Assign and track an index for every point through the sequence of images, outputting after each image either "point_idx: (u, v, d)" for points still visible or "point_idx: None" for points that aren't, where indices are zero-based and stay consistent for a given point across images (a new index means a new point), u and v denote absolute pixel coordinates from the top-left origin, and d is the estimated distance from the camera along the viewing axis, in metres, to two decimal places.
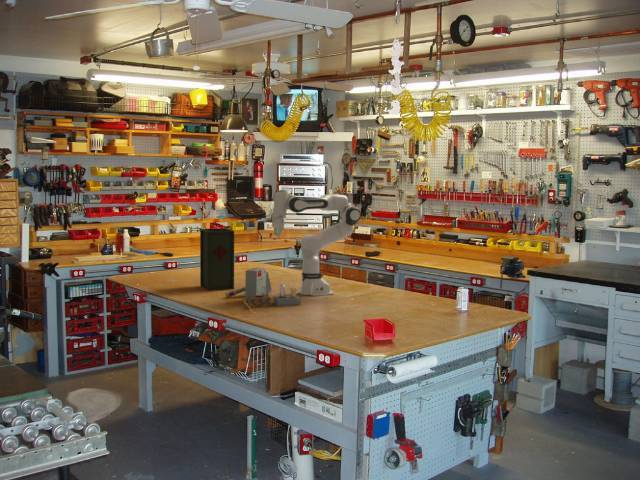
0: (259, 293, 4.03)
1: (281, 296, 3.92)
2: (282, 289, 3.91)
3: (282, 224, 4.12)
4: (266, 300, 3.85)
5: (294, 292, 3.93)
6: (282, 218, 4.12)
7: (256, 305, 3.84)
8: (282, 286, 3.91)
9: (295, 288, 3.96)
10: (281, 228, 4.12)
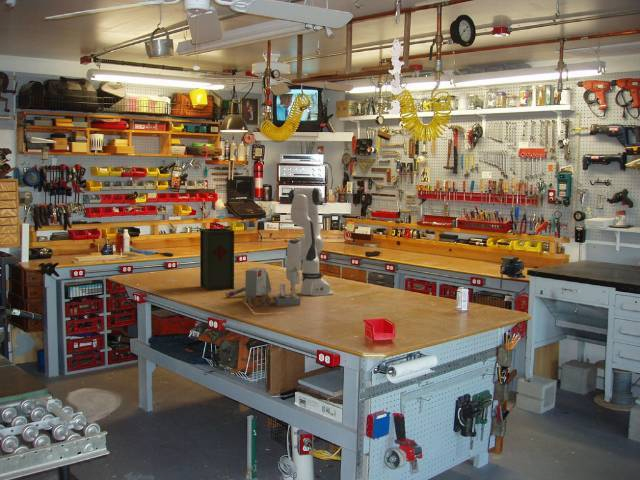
0: (259, 293, 4.03)
1: (281, 296, 3.92)
2: (282, 289, 3.91)
3: (298, 278, 3.84)
4: (266, 300, 3.85)
5: (294, 292, 3.93)
6: (297, 271, 3.83)
7: (256, 305, 3.84)
8: (282, 286, 3.91)
9: None
10: (297, 282, 3.84)
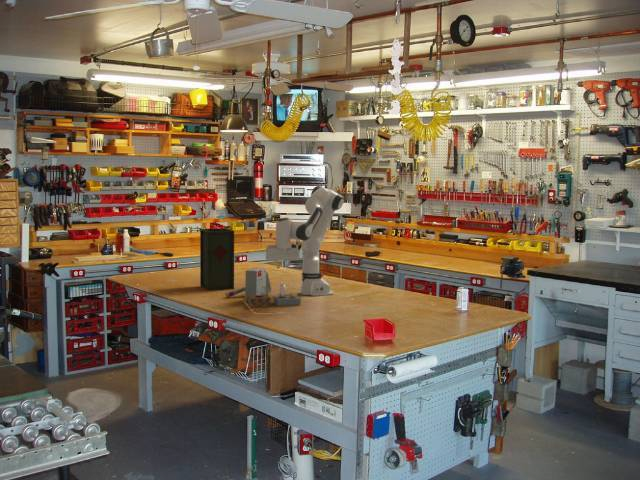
0: (259, 293, 4.03)
1: (281, 296, 3.92)
2: (282, 289, 3.91)
3: (267, 254, 3.87)
4: (266, 300, 3.85)
5: (294, 296, 3.93)
6: (266, 247, 3.87)
7: (256, 305, 3.84)
8: (282, 286, 3.91)
9: None
10: (266, 258, 3.87)
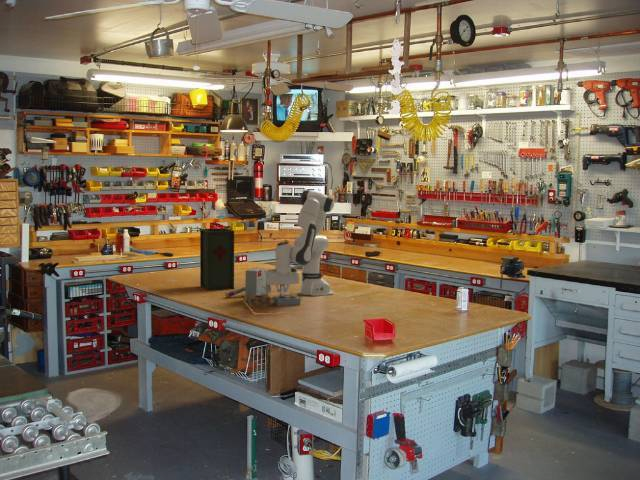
0: (259, 293, 4.03)
1: (281, 296, 3.92)
2: (282, 289, 3.91)
3: (266, 278, 3.88)
4: (266, 300, 3.85)
5: (294, 296, 3.93)
6: None
7: (256, 305, 3.84)
8: (282, 286, 3.91)
9: None
10: (266, 282, 3.89)
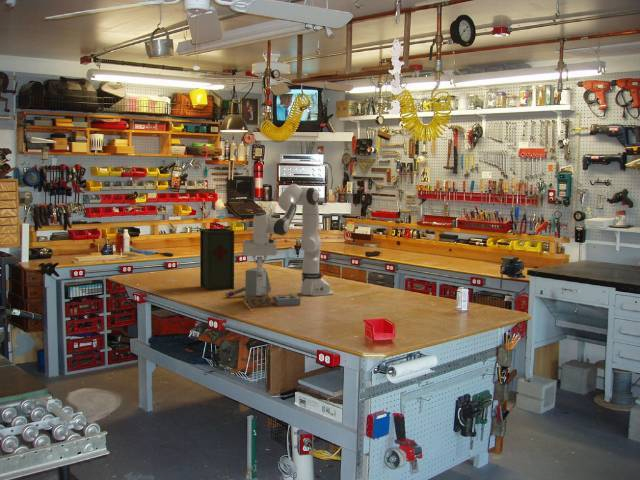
0: (259, 293, 4.03)
1: (258, 268, 3.86)
2: (259, 261, 3.85)
3: (243, 249, 3.82)
4: (266, 300, 3.85)
5: (294, 296, 3.93)
6: (243, 242, 3.82)
7: (256, 305, 3.84)
8: (259, 258, 3.85)
9: None
10: (243, 253, 3.83)
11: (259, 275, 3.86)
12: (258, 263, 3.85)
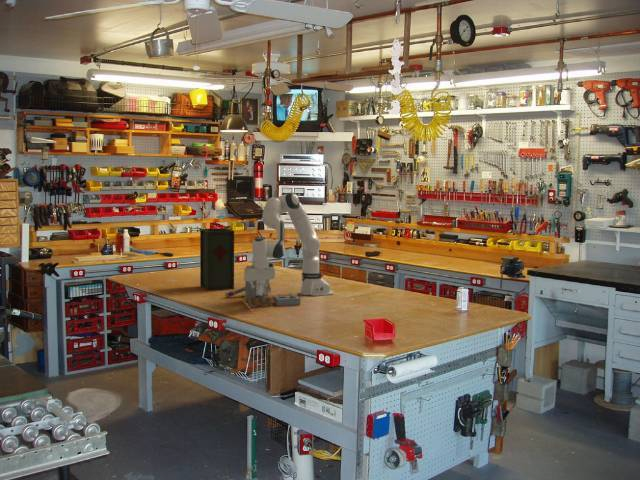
0: None
1: (260, 295, 3.87)
2: (261, 288, 3.87)
3: (246, 275, 3.81)
4: (266, 300, 3.85)
5: (294, 296, 3.93)
6: None
7: (256, 305, 3.84)
8: (261, 285, 3.87)
9: None
10: (245, 279, 3.82)
11: None
12: (259, 290, 3.87)
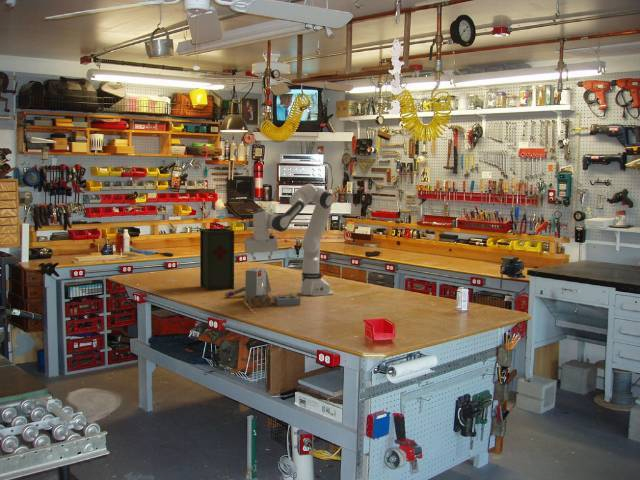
0: None
1: (260, 295, 3.87)
2: (261, 288, 3.87)
3: (245, 246, 3.91)
4: (266, 300, 3.85)
5: (294, 296, 3.93)
6: (244, 240, 3.91)
7: (256, 305, 3.84)
8: (261, 285, 3.87)
9: None
10: (245, 250, 3.91)
11: None
12: (259, 290, 3.87)
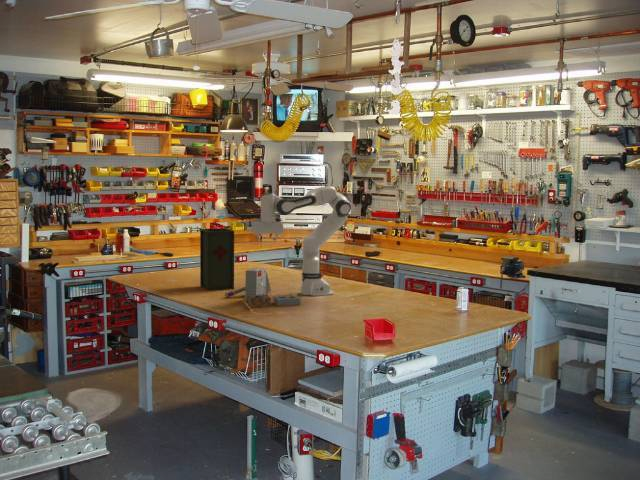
0: None
1: (260, 295, 3.87)
2: (261, 288, 3.87)
3: (252, 227, 4.05)
4: (266, 300, 3.85)
5: (294, 296, 3.93)
6: (251, 221, 4.05)
7: (256, 305, 3.84)
8: (261, 285, 3.87)
9: None
10: (251, 231, 4.06)
11: None
12: (259, 290, 3.87)
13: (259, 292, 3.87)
